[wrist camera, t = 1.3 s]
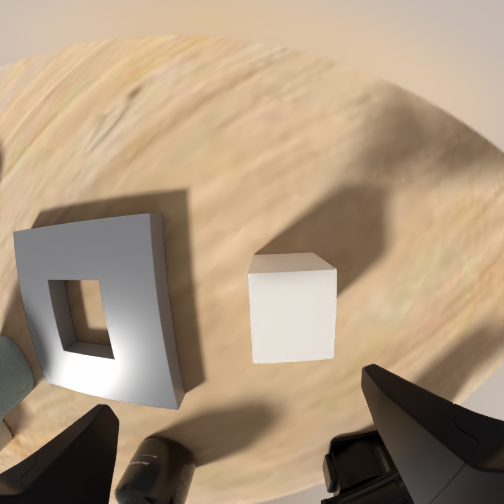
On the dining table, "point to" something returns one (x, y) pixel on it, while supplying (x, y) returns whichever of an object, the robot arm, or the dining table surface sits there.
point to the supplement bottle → (157, 474)
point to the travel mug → (4, 435)
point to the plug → (292, 307)
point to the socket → (114, 303)
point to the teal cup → (13, 376)
